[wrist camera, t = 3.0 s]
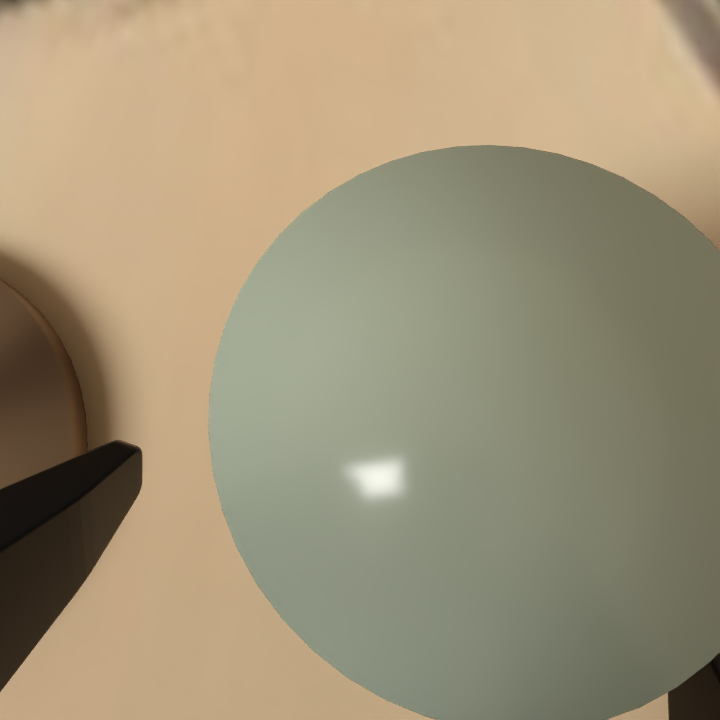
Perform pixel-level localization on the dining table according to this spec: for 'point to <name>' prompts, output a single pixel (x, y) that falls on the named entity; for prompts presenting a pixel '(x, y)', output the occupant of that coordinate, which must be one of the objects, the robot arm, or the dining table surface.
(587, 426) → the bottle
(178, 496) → the dining table surface
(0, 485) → the disc
